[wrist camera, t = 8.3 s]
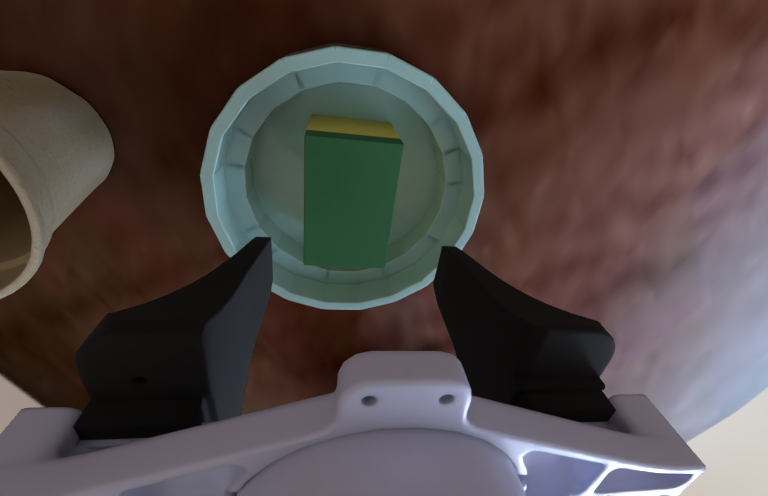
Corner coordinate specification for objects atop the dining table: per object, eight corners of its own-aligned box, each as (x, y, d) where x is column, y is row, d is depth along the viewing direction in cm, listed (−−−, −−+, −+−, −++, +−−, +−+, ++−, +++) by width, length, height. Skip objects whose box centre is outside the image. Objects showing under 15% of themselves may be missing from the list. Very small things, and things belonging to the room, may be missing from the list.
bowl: (434, 271, 27) (450, 312, 23) (237, 264, 24) (219, 307, 21) (485, 62, 20) (520, 71, 16) (211, 24, 17) (176, 23, 13)
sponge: (377, 230, 24) (385, 268, 20) (308, 226, 23) (303, 265, 19) (391, 122, 20) (404, 144, 16) (310, 113, 19) (304, 134, 16)
